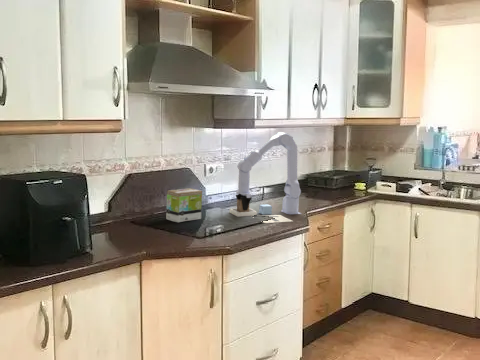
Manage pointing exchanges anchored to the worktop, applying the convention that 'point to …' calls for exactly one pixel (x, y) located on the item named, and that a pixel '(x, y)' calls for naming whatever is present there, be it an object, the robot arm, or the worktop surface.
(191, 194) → the tea box
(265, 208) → the blue cube
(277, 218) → the letter board
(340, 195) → the worktop surface
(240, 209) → the walnut block
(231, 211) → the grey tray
